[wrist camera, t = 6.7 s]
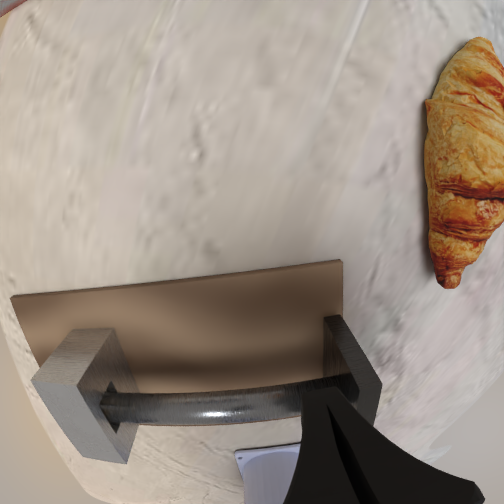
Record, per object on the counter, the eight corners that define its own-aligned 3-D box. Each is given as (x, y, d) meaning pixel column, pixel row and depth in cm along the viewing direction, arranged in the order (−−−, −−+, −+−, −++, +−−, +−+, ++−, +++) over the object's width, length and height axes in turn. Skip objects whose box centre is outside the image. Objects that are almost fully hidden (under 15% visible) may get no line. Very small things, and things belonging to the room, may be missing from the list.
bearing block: (145, 404, 22) (126, 464, 15) (107, 402, 22) (82, 456, 15) (114, 327, 20) (76, 385, 13) (72, 328, 20) (30, 380, 13)
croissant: (425, 38, 18) (430, -13, 11) (518, 73, 14) (548, 38, 7) (387, 259, 23) (389, 283, 16) (485, 293, 19) (518, 327, 12)
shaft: (336, 387, 21) (364, 458, 14) (130, 404, 21) (107, 470, 14) (340, 314, 19) (382, 383, 12) (101, 337, 19) (58, 403, 12)
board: (335, 404, 23) (336, 409, 23) (70, 413, 23) (68, 416, 23) (339, 259, 19) (342, 262, 19) (13, 295, 19) (9, 298, 19)
